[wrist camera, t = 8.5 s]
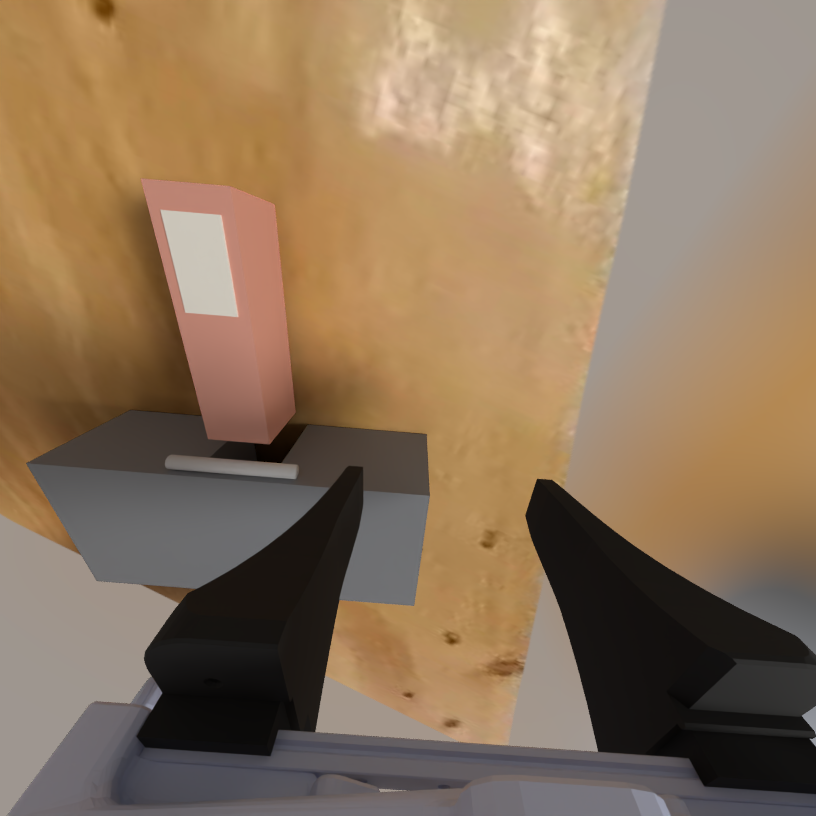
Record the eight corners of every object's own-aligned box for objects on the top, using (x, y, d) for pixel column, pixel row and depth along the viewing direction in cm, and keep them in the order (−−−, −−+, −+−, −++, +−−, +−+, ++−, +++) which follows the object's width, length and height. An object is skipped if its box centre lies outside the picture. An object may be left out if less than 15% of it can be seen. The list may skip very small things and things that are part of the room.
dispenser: (414, 530, 26) (414, 605, 21) (167, 510, 26) (96, 580, 21) (427, 424, 22) (431, 484, 16) (126, 400, 22) (18, 451, 16)
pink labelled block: (295, 412, 20) (268, 445, 17) (244, 408, 20) (207, 440, 17) (274, 204, 15) (228, 185, 12) (206, 198, 15) (138, 177, 12)
